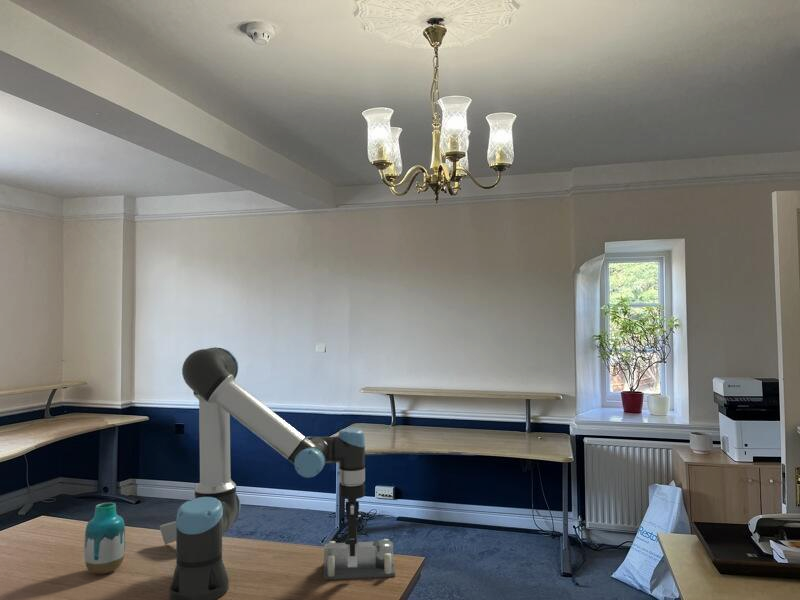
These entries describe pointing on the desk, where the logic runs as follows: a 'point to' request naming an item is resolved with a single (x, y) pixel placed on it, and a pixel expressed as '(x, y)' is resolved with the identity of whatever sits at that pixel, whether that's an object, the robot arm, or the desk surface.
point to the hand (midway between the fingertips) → (352, 557)
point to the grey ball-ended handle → (359, 554)
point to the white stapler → (168, 532)
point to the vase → (104, 540)
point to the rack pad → (358, 570)
